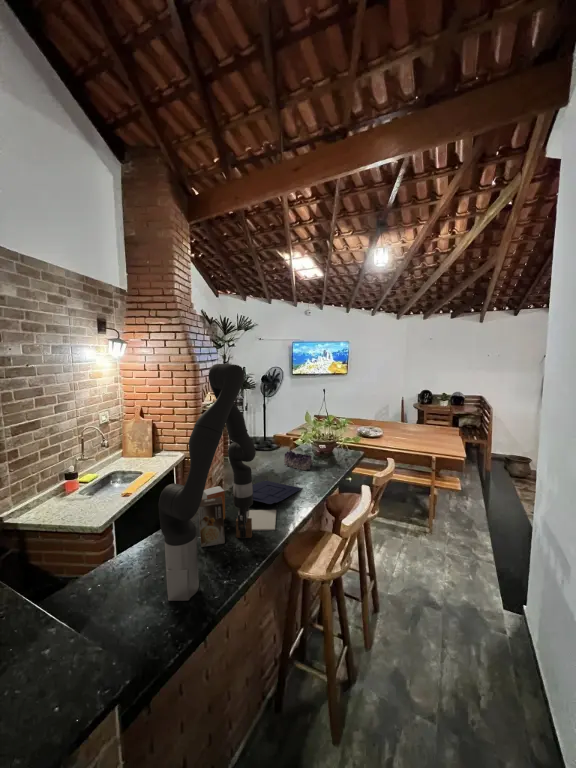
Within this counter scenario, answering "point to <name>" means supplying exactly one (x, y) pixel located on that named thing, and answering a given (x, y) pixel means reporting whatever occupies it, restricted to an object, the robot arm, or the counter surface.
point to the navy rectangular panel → (272, 491)
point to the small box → (215, 495)
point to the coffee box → (211, 522)
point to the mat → (263, 519)
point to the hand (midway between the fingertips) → (244, 532)
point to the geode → (298, 460)
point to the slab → (248, 528)
